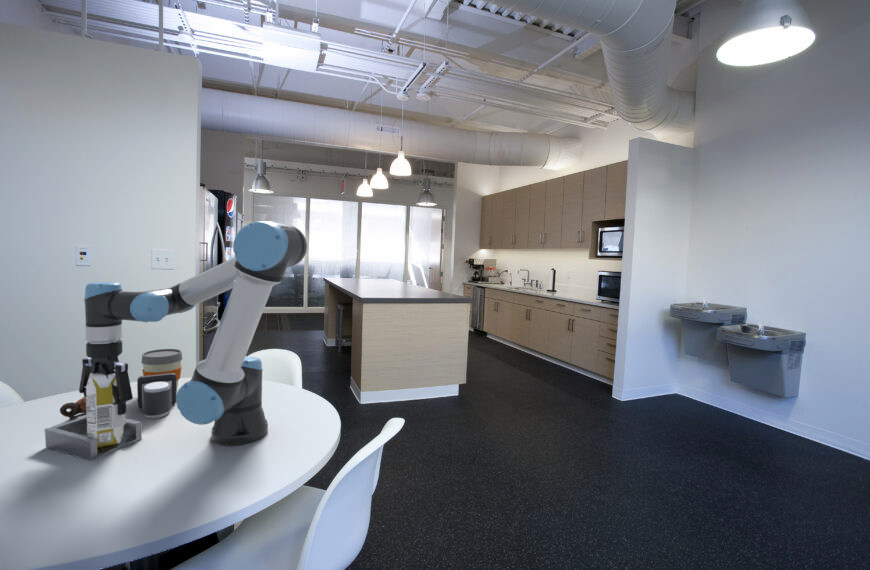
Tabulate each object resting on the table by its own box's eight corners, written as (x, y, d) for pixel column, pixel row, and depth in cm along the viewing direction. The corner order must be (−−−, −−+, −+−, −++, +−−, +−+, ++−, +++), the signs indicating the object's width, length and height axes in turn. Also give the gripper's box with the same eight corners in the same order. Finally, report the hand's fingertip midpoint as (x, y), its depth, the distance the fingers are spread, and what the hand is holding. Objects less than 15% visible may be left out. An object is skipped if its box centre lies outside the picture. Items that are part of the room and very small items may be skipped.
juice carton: (86, 450, 107) (85, 378, 105) (89, 437, 114) (87, 369, 112) (123, 443, 111) (122, 374, 109) (124, 431, 118) (122, 366, 116)
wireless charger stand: (135, 423, 128) (134, 390, 127) (138, 406, 139) (137, 375, 138) (177, 417, 134) (176, 385, 133) (176, 401, 145) (176, 371, 144)
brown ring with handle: (97, 410, 137) (108, 390, 136) (105, 430, 132) (117, 409, 131) (51, 412, 126) (63, 390, 126) (58, 434, 122) (71, 411, 121)
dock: (141, 439, 117) (141, 422, 117) (90, 460, 105) (90, 441, 105) (98, 428, 123) (98, 411, 122) (45, 447, 111) (45, 429, 110)
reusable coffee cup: (179, 385, 162) (179, 347, 161) (185, 394, 152) (185, 354, 151) (140, 390, 154) (139, 351, 153) (143, 401, 144) (143, 359, 143)
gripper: (148, 342, 110) (149, 424, 112) (91, 333, 117) (92, 410, 119) (119, 348, 103) (121, 435, 105) (59, 338, 110) (62, 420, 112)
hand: (106, 422), depth 112 cm, fingers closed on juice carton, 9 cm apart
